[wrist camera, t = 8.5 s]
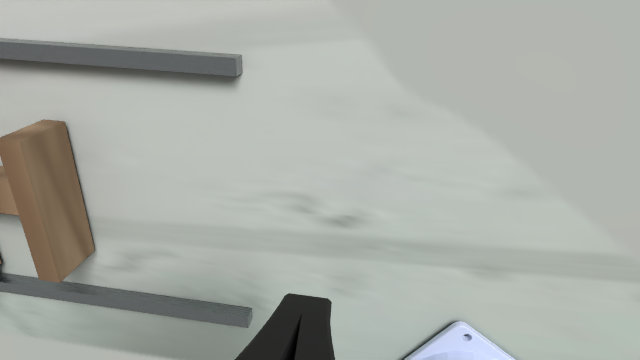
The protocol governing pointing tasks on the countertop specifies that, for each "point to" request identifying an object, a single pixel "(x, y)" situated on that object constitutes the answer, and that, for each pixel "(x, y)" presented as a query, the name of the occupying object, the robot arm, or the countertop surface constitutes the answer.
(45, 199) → the wooden frame
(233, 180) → the countertop surface
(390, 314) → the countertop surface
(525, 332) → the countertop surface
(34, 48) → the track
